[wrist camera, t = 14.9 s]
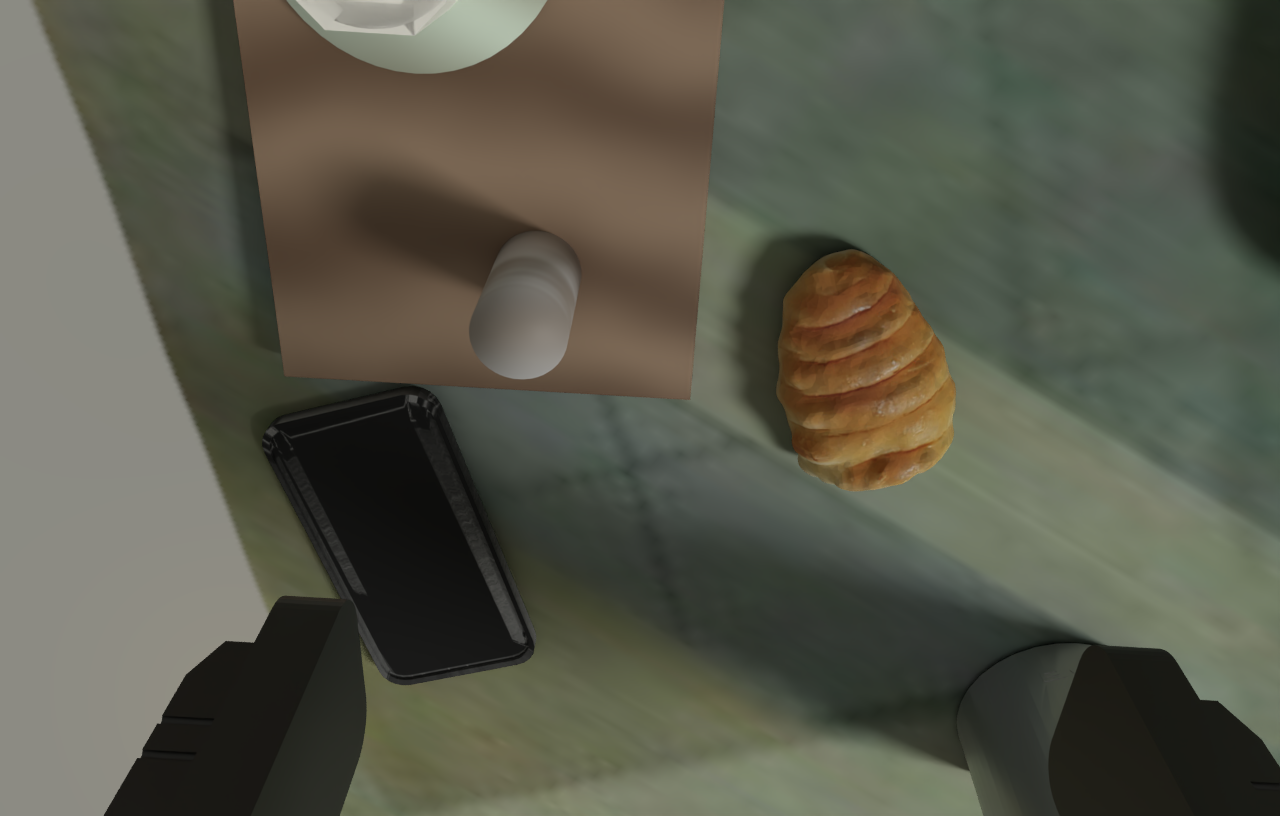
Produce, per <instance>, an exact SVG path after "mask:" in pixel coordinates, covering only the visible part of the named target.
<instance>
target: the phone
mask: <svg viewBox="0 0 1280 816" xmlns="http://www.w3.org/2000/svg"><path fill="white" fill-rule="evenodd" d="M262 446H263V449H264V452H265V454H266V456H267V458H268V460H269V462H270V464H271V466H272V468H273V470H274V472H275V473H276V475H277V477H278V479H279V481H280V483H281V485H282V487H283V489H284V491H285V493H286V494H287V496H288V498H289V500H290V502H291V504H292V506H293V508H294V510H295V512H296V513H297V515H298V517H299V519H300V521H301V523H302V525H303V527H304V529H305V531H306V533H307V534H308V536H309V538H310V540H311V542H312V544H313V546H314V548H315V550H316V552H317V553H318V555H319V557H320V559H321V561H322V563H323V565H324V567H325V569H326V571H327V573H328V574H329V576H330V578H331V580H332V582H333V584H334V586H335V588H336V590H337V592H338V594H339V595H340V597H341V599H348V600H351V601H352V602H353V603H354V605H355V609H356V614H357V622H358V630H359V634H360V636H361V637H362V639H363V641H364V643H365V645H366V647H367V649H368V651H369V653H370V655H371V656H372V658H373V660H374V662H375V664H376V666H377V668H378V670H379V672H380V673H381V674H382V676H383V677H384V678H386V679H387V680H388V681H390V682H393V683H395V684H400V685H412V684H417V683H422V682H428V681H433V680H438V679H444V678H449V677H454V676H459V675H465V674H470V673H475V672H481V671H486V670H491V669H497V668H502V667H507V666H512V665H518V664H521V663H524V662H526V661H527V660H528V659H530V658H531V656H532V655H533V653H534V648H535V642H536V633H535V629H534V627H533V625H532V622H531V620H530V617H529V615H528V613H527V610H526V608H525V605H524V603H523V601H522V598H521V596H520V593H519V591H518V589H517V586H516V584H515V581H514V579H513V577H512V574H511V572H510V569H509V567H508V565H507V562H506V560H505V557H504V555H503V553H502V550H501V548H500V545H499V543H498V540H497V538H496V536H495V533H494V531H493V528H492V526H491V524H490V521H489V519H488V516H487V514H486V512H485V509H484V507H483V504H482V502H481V500H480V497H479V495H478V492H477V490H476V488H475V485H474V483H473V480H472V478H471V476H470V473H469V471H468V468H467V466H466V464H465V461H464V459H463V456H462V454H461V452H460V449H459V447H458V444H457V442H456V440H455V437H454V435H453V432H452V430H451V427H450V425H449V423H448V420H447V418H446V415H445V413H444V411H443V408H442V406H441V404H440V402H439V401H438V399H437V397H435V396H434V395H433V394H432V393H431V392H430V391H428V390H426V389H424V388H421V387H416V386H408V387H401V388H397V389H393V390H389V391H384V392H380V393H376V394H372V395H367V396H363V397H359V398H355V399H350V400H346V401H342V402H337V403H333V404H329V405H325V406H320V407H316V408H312V409H308V410H303V411H299V412H295V413H291V414H286V415H283V416H281V417H278V418H276V419H275V420H274V421H273V422H272V423H271V425H270V426H269V428H268V429H267V430H266V432H265V434H264V436H263V439H262Z"/></svg>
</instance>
